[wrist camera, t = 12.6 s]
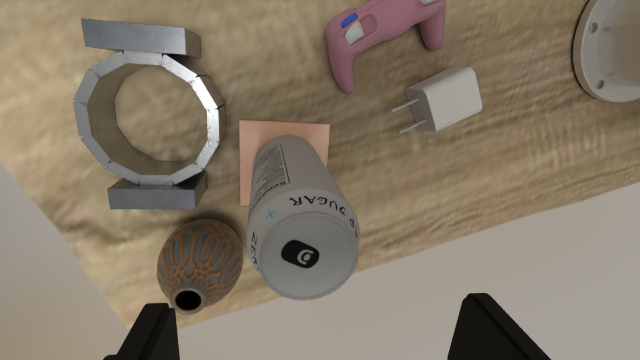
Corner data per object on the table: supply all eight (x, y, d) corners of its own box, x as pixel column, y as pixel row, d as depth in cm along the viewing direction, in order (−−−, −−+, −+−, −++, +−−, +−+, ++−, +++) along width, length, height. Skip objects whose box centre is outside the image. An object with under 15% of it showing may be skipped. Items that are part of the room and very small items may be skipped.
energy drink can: (298, 206, 30) (328, 324, 16) (241, 178, 28) (221, 286, 14) (330, 153, 29) (393, 233, 15) (273, 121, 27) (285, 178, 13)
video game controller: (416, 8, 28) (442, -58, 21) (441, 50, 28) (476, -3, 21) (319, 58, 28) (313, 9, 21) (342, 101, 28) (343, 65, 21)
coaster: (329, 123, 29) (330, 124, 28) (322, 203, 31) (323, 205, 31) (239, 119, 27) (239, 120, 27) (240, 203, 30) (240, 205, 29)
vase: (222, 281, 32) (206, 351, 24) (159, 251, 30) (117, 317, 22) (259, 230, 31) (255, 286, 23) (195, 195, 29) (166, 243, 21)
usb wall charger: (457, 107, 30) (484, 112, 26) (392, 137, 30) (410, 146, 26) (446, 67, 29) (473, 66, 25) (379, 99, 29) (395, 102, 25)
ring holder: (92, 26, 23) (47, 15, 19) (223, 38, 25) (213, 30, 20) (115, 186, 27) (83, 209, 23) (227, 187, 29) (219, 209, 24)
